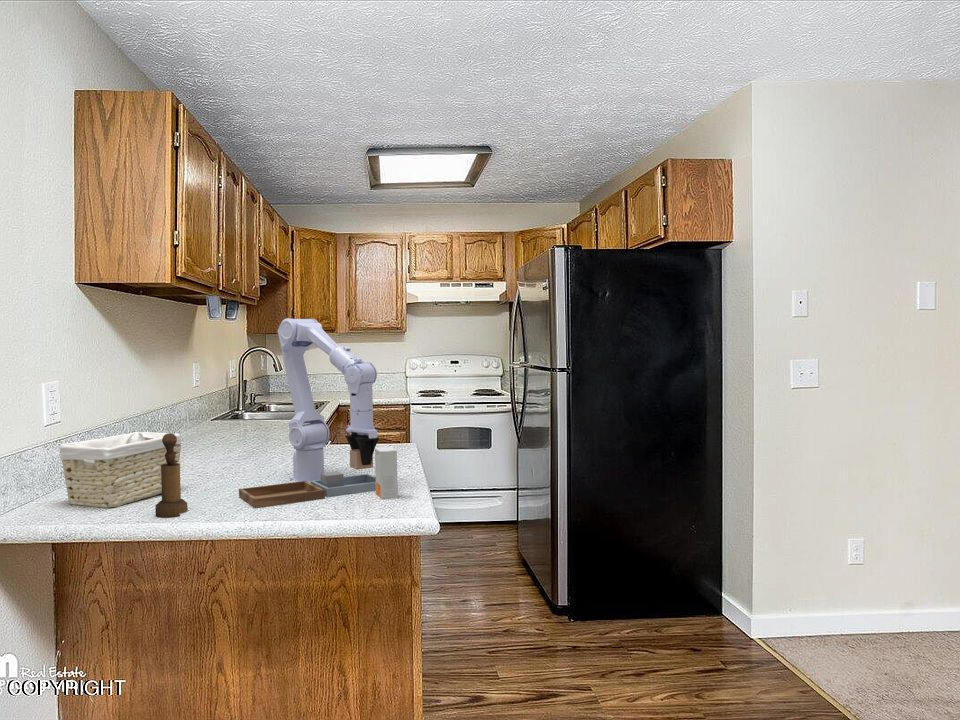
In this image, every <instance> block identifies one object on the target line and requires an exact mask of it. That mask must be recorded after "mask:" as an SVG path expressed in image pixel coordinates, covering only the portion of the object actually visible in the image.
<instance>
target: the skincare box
mask: <svg viewBox="0 0 960 720" xmlns="http://www.w3.org/2000/svg"><path fill="white" fill-rule="evenodd" d="M374 466H375V467H374V469H375V475H374V477H375V478H376V491H375V495H376V496H377V497H378V498H379V499H380V500H387V499H388V500H390V499H398V498H399V494H398V493H399V492H398V491H399V490H398V486H399V485H398V451H397V449H395V448H394V447H392V446H379V447H377V446H376V447H375V449H374Z"/></svg>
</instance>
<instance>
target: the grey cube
mask: <svg viewBox="0 0 960 720" xmlns="http://www.w3.org/2000/svg"><path fill="white" fill-rule="evenodd" d="M344 477H345V476H344V473H342V472H340V471H336V470H335V471H328V472H324V473H320V480H321V484H322V485H324V486H326V487H328V488H332V487H340V486H344Z"/></svg>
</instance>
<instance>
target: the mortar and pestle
mask: <svg viewBox="0 0 960 720" xmlns="http://www.w3.org/2000/svg"><path fill="white" fill-rule="evenodd" d="M168 433H169V432H168ZM174 434H175V433H173V434H172V433H171V432H170V433H169V434H165V435H164V436H163V438H162V442H163V444H164V446H165V447H166V450H167V452H166V454H165V458H166V462H167V464H162V465H161V484H162V493H161V500H160V501H158V502H157V504H155V506H154V507H155V509H154V510H155V516H156V517H159V518H172V517H178V516H181V514H184V513H187V512H188V511H189V509H188V501H186V500H185V499H183V498H182V496H181V495H182V492H181V489H182V488H181V463H180V464H179V463H174V461H175V456H176V453H174V450H173V449H174V446H175V444H176V442H177V437H176V436H175V435H174Z"/></svg>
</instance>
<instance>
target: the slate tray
mask: <svg viewBox="0 0 960 720" xmlns="http://www.w3.org/2000/svg"><path fill="white" fill-rule="evenodd" d="M309 483H311V484H313V485H315V486H317V487H319V488H321V489H323V490H325V498H332V497H339V496H347V495H348V496H349V495H353V494H355V495H356V494H361V493H369V492H376V478H375V475H372V474H368V473H363V474H356V475H347V476H344V486H340V487H332V488H328V487H326V486H324V485H322V484H321V480H314V481H310V482H309Z"/></svg>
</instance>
